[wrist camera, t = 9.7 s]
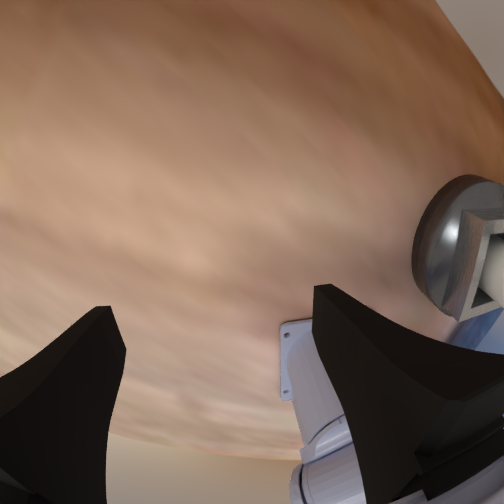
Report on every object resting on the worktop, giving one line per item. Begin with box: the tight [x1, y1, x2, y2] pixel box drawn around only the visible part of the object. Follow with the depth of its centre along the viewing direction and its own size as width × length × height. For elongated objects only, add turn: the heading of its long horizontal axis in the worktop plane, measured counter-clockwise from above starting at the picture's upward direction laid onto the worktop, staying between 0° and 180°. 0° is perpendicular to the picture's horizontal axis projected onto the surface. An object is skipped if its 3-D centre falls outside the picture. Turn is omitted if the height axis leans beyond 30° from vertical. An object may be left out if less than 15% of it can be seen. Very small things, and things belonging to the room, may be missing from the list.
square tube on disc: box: [412, 175, 504, 322], centre depth 19 cm, size 12×12×6 cm
